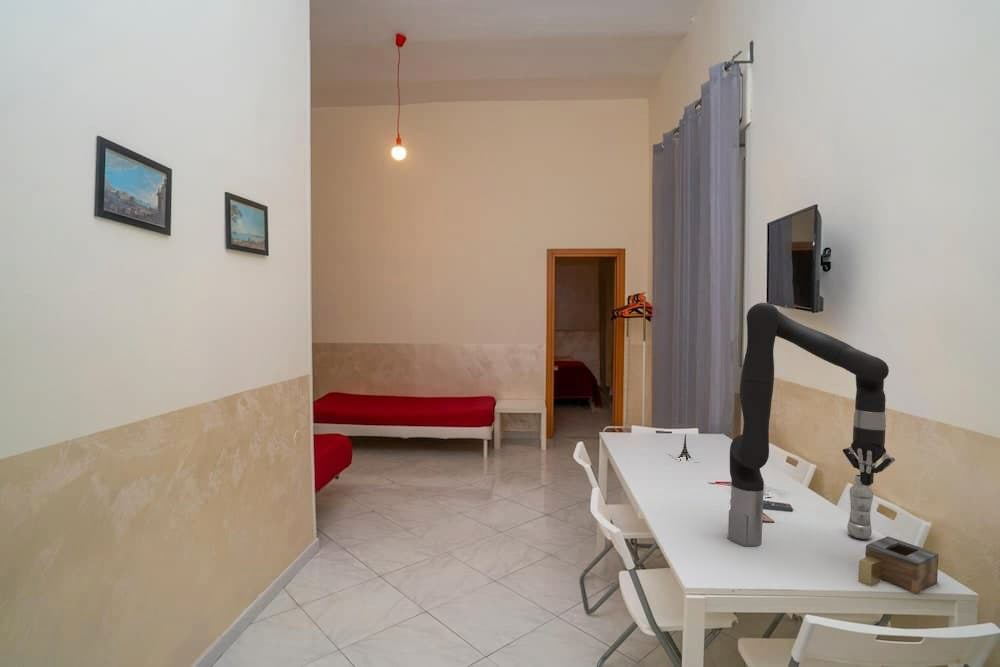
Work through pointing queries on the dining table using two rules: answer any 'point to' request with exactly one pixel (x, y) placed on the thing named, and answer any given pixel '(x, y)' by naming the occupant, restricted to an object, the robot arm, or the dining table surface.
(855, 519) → the plastic bottle
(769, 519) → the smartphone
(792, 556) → the dining table surface
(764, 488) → the teacup and saucer
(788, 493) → the dining table surface
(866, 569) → the block
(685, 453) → the eiffel tower figurine
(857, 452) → the robot arm
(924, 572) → the box
